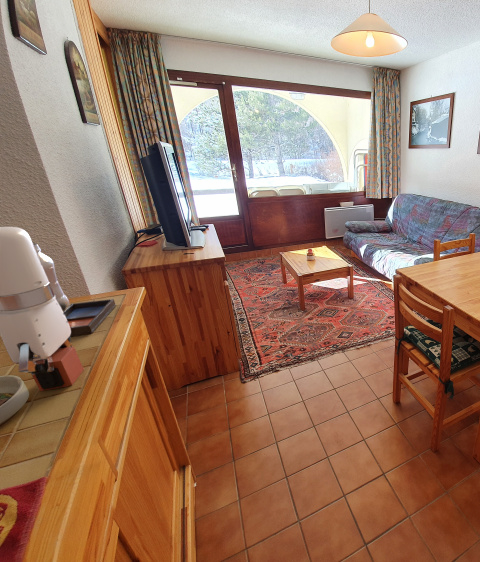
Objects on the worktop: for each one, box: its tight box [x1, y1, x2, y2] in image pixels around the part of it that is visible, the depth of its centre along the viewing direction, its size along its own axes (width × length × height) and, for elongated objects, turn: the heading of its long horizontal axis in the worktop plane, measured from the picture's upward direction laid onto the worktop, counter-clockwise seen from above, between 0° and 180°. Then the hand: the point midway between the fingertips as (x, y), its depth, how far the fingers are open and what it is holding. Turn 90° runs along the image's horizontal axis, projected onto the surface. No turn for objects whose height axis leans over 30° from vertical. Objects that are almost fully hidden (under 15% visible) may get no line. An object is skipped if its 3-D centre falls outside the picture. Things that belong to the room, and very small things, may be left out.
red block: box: [31, 345, 85, 392], centre depth 62 cm, size 5×5×6 cm
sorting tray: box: [63, 298, 117, 338], centre depth 83 cm, size 10×16×2 cm, turn 20°
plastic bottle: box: [32, 242, 71, 311], centre depth 84 cm, size 6×7×20 cm
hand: (61, 376), depth 63 cm, fingers closed on red block, 5 cm apart
